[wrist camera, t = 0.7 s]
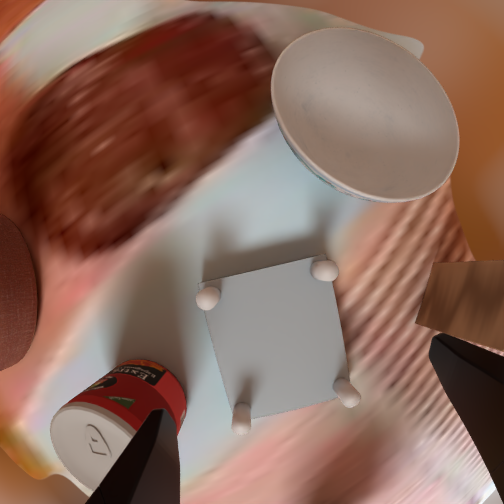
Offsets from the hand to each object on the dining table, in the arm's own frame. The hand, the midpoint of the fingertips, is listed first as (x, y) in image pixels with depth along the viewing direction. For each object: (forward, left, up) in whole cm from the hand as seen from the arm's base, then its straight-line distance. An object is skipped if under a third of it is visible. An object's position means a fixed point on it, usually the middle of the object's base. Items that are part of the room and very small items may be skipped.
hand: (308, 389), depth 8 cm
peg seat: (-2, -1, -16) cm, 16 cm away
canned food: (-9, +10, -16) cm, 21 cm away
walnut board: (+2, -17, -16) cm, 23 cm away
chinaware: (+16, -6, -16) cm, 23 cm away
